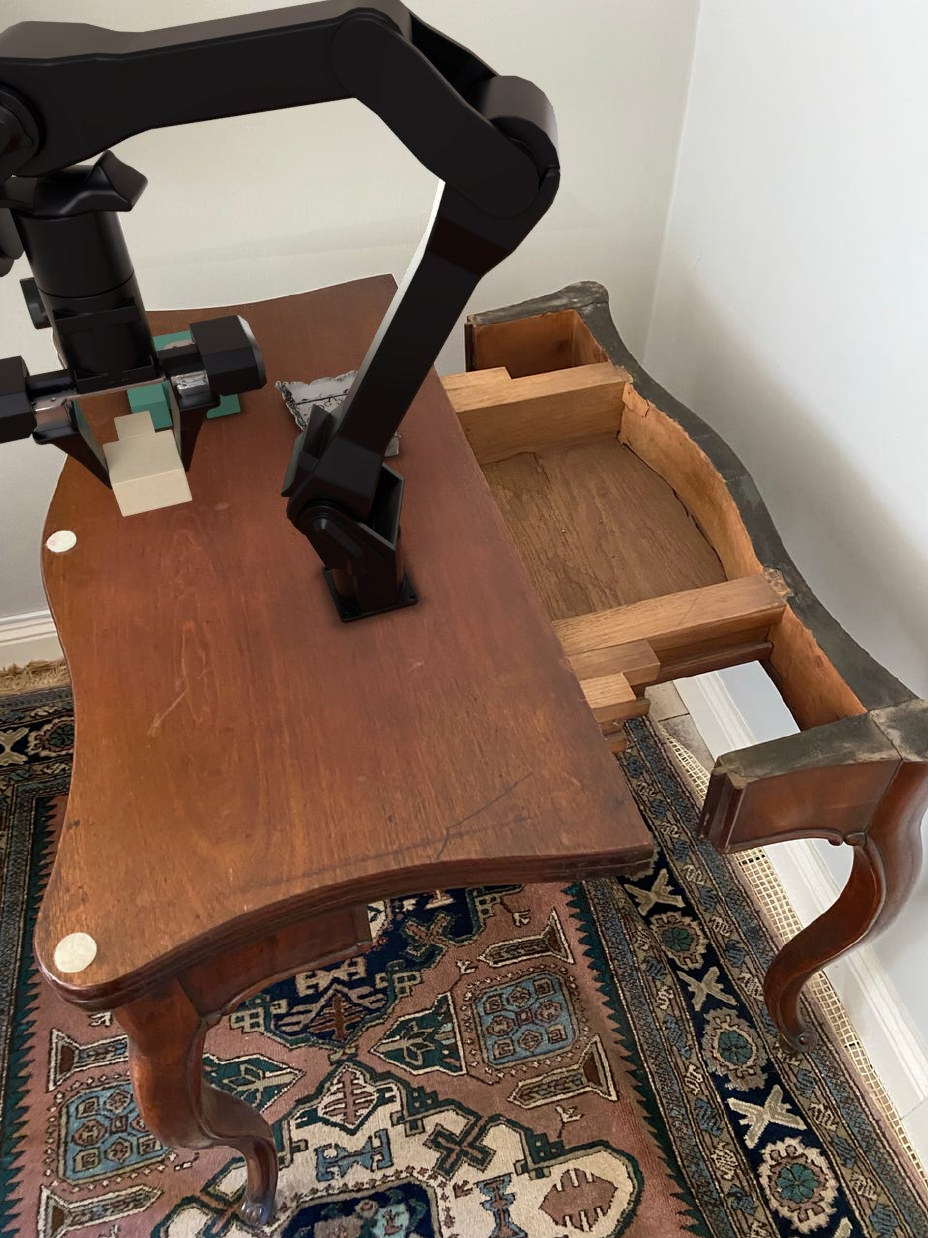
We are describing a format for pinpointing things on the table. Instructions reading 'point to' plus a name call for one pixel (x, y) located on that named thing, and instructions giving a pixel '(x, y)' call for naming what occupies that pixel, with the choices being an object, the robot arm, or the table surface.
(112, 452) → the cream tabbed block
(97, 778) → the table surface
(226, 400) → the teal pad
